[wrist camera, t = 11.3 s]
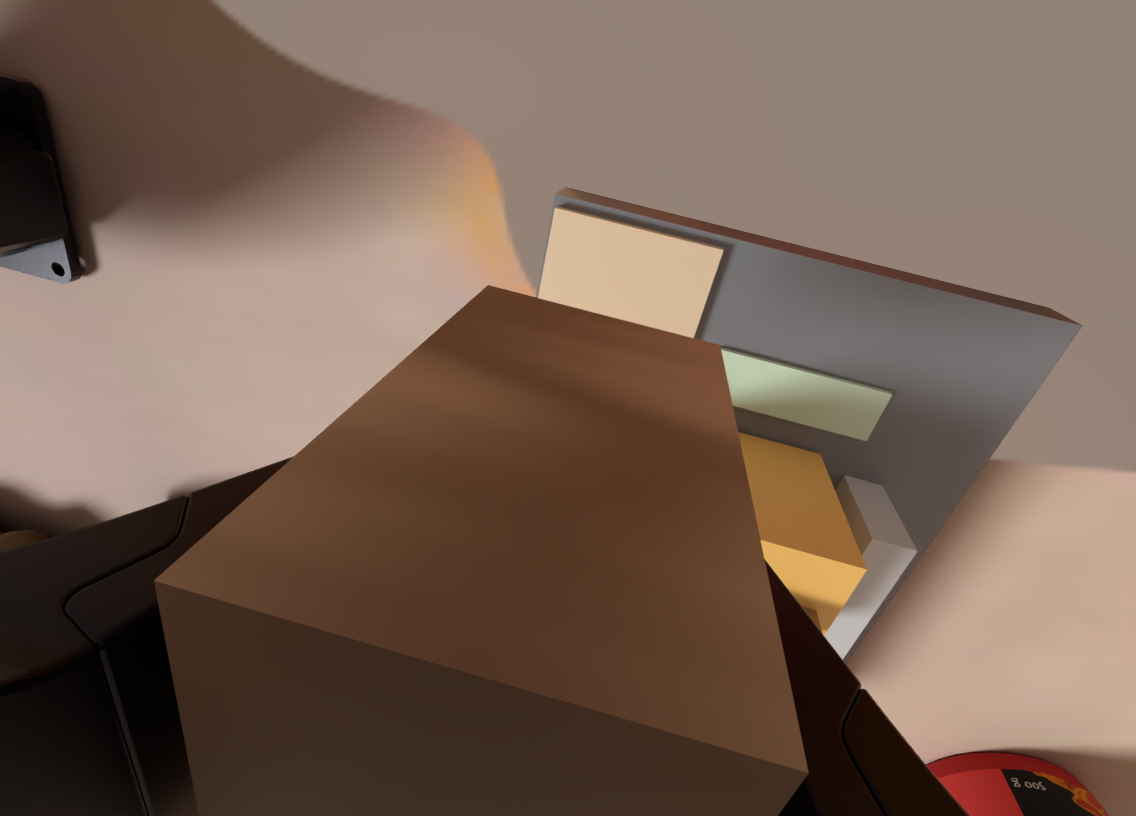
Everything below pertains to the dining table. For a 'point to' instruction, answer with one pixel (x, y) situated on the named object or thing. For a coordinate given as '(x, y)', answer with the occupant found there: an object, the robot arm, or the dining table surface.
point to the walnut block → (496, 593)
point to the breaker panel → (825, 362)
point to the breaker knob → (802, 527)
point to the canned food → (1013, 786)
